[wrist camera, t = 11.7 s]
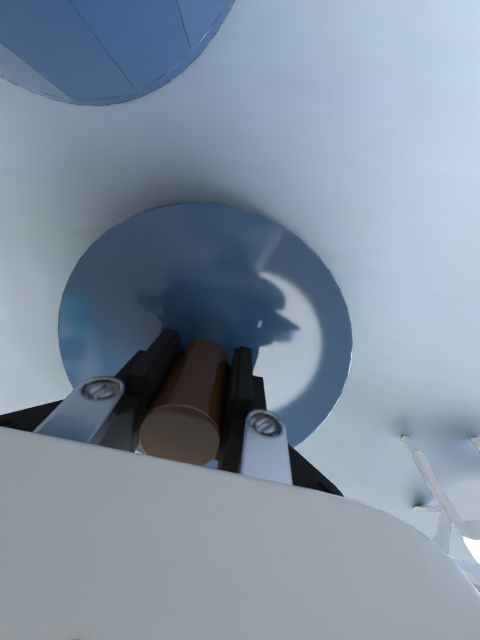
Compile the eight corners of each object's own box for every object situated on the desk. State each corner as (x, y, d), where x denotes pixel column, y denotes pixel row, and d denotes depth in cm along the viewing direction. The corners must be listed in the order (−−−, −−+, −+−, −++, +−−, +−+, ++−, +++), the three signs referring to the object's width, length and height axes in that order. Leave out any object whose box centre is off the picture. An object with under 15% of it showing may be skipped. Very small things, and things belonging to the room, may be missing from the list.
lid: (75, 167, 10) (-132, 83, 5) (390, 250, 11) (541, 264, 5) (72, 427, 15) (-34, 543, 9) (294, 472, 16) (321, 604, 10)
